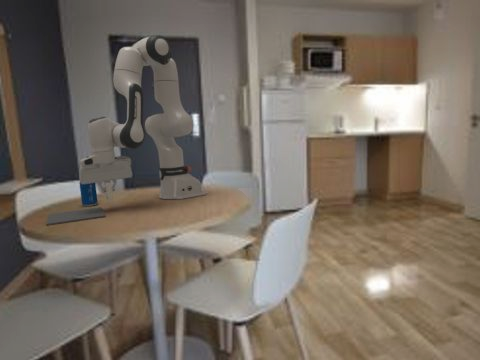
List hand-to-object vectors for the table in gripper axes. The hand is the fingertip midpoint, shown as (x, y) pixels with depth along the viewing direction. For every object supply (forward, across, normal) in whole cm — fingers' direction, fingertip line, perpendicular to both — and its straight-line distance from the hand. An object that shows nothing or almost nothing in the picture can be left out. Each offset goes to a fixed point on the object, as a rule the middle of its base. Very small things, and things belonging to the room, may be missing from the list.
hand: (108, 191), depth 148 cm
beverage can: (+8, +7, -17) cm, 20 cm away
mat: (+7, +13, +3) cm, 15 cm away
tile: (+3, 0, 0) cm, 3 cm away
